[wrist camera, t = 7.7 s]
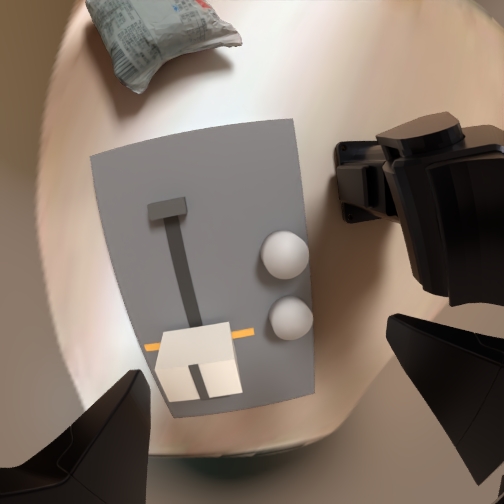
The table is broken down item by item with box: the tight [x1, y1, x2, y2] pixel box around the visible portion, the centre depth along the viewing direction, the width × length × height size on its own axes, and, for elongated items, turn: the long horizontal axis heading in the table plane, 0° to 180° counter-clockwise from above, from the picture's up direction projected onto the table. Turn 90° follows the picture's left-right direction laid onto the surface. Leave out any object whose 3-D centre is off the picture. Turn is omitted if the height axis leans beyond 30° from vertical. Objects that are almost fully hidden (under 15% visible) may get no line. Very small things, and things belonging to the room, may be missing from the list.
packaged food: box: [85, 0, 242, 94], centre depth 13 cm, size 9×12×5 cm
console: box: [90, 119, 315, 418], centre depth 20 cm, size 24×14×4 cm, turn 8°
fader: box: [155, 322, 242, 402], centre depth 18 cm, size 3×5×5 cm, turn 98°
